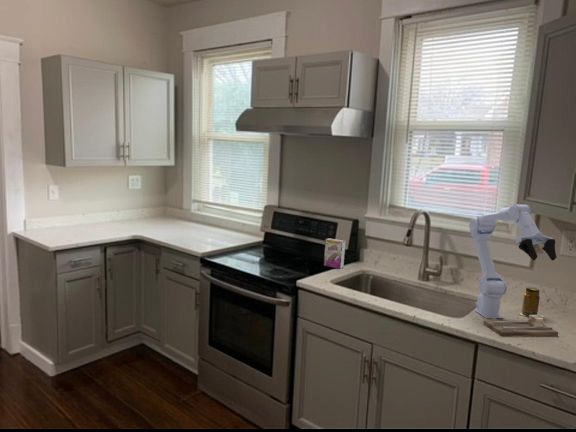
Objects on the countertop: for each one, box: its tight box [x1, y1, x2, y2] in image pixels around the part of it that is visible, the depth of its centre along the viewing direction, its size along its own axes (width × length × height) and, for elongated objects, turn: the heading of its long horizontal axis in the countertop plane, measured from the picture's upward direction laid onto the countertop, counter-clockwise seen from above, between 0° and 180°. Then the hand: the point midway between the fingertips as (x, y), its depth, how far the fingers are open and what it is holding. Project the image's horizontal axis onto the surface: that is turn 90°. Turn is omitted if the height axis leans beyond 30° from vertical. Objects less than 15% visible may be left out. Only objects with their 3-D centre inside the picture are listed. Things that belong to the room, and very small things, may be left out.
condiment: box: [519, 286, 545, 319], centre depth 193 cm, size 7×8×12 cm
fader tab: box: [527, 315, 544, 327], centre depth 176 cm, size 4×3×4 cm
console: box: [483, 320, 559, 337], centre depth 176 cm, size 12×24×2 cm, turn 98°
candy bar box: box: [323, 238, 346, 270], centre depth 259 cm, size 11×5×16 cm, turn 59°
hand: (544, 258), depth 159 cm, fingers open, 7 cm apart
